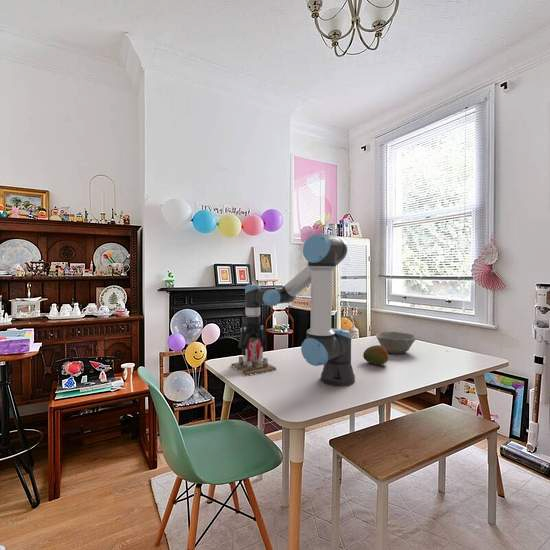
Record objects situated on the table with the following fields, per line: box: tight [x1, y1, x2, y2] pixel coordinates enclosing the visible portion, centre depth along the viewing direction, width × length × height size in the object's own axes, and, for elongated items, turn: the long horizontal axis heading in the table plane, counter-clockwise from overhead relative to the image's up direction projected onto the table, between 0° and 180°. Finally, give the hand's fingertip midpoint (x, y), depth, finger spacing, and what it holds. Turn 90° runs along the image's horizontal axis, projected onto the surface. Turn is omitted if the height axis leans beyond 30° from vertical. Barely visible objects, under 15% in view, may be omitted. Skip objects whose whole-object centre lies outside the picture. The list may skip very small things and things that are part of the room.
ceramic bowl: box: [375, 331, 417, 355], centre depth 195 cm, size 22×23×10 cm
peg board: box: [230, 355, 277, 376], centre depth 166 cm, size 18×16×5 cm
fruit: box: [362, 344, 389, 366], centre depth 172 cm, size 12×13×10 cm
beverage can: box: [246, 337, 262, 365], centre depth 166 cm, size 8×8×12 cm
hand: (253, 360), depth 166 cm, fingers closed on beverage can, 8 cm apart
